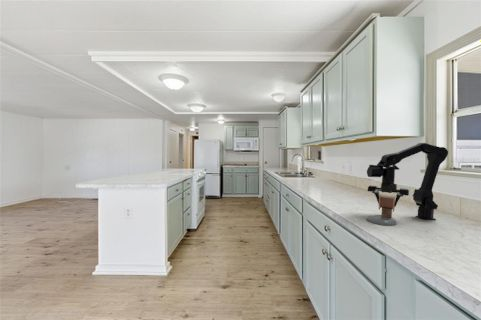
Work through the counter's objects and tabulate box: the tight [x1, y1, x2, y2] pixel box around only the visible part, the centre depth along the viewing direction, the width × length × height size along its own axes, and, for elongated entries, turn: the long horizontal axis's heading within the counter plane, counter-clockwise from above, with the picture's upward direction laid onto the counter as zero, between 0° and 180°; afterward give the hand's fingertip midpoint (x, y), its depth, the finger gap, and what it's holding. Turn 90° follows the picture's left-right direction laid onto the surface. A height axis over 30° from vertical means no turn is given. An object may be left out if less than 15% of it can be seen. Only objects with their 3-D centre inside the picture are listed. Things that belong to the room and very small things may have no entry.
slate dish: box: [365, 215, 397, 227], centre depth 116 cm, size 13×13×1 cm
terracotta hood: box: [378, 193, 396, 213], centre depth 125 cm, size 7×7×8 cm
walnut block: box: [381, 207, 393, 219], centre depth 125 cm, size 4×4×5 cm
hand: (386, 205), depth 125 cm, fingers closed on terracotta hood, 7 cm apart
